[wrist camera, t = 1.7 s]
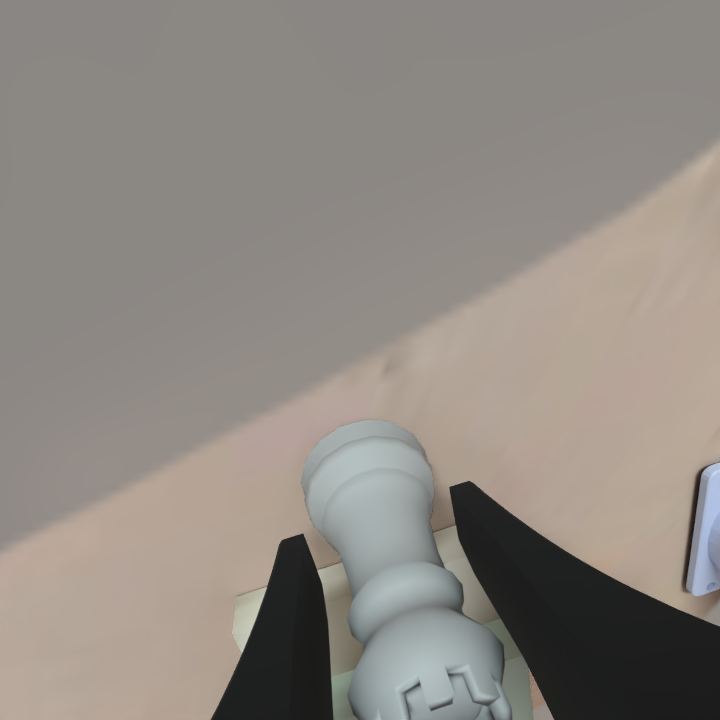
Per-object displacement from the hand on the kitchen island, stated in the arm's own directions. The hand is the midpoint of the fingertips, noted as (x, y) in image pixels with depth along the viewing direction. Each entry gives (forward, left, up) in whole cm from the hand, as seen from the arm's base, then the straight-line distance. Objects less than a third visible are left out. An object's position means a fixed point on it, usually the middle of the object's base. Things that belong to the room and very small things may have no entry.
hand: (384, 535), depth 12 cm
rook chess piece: (0, 0, -3) cm, 3 cm away
